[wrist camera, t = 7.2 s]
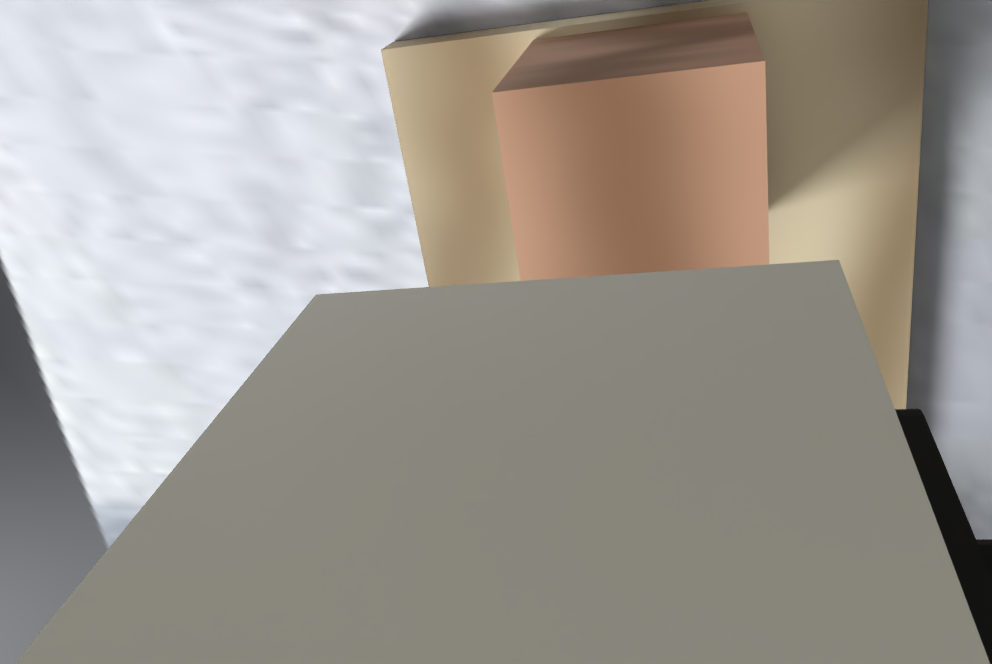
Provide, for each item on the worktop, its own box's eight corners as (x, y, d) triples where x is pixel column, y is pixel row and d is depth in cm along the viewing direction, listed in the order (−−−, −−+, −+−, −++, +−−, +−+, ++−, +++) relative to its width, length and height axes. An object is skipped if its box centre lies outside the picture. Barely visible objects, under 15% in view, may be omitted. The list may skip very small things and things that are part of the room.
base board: (918, -28, 23) (1005, 18, 17) (884, 662, 33) (929, 850, 27) (392, 41, 26) (301, 103, 20) (512, 651, 37) (477, 817, 30)
